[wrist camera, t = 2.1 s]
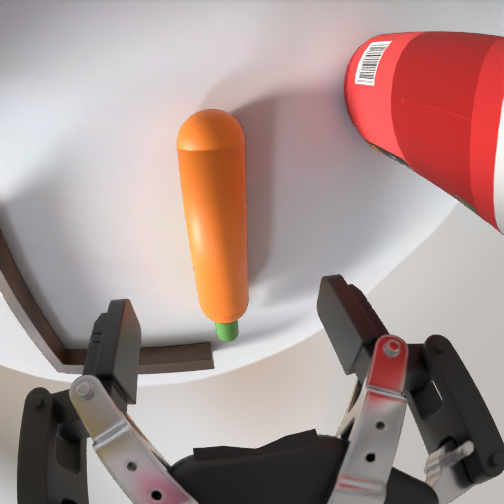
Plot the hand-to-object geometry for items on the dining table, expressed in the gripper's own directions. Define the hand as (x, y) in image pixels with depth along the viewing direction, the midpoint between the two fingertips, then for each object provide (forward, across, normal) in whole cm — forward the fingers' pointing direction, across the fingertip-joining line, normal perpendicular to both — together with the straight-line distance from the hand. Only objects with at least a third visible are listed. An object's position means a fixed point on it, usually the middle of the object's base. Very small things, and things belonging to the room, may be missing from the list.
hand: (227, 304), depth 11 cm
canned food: (+7, -11, -8) cm, 15 cm away
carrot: (+7, 0, +1) cm, 7 cm away
